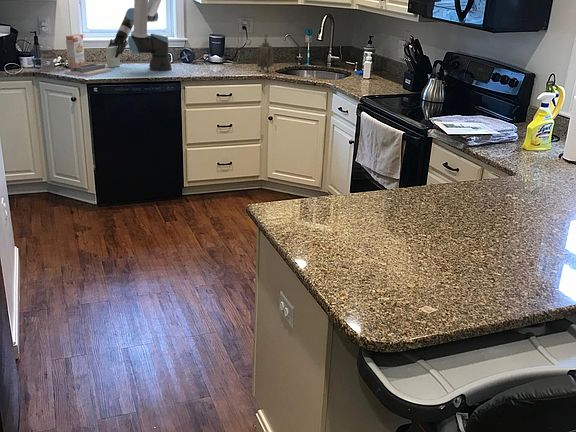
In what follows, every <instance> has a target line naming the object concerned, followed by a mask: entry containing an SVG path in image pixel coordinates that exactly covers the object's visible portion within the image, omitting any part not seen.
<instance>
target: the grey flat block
mask: <svg viewBox="0 0 576 432" xmlns="http://www.w3.org/2000/svg"><path fill="white" fill-rule="evenodd" d="M108 72H112V68H110V67H107V66H106V63H102V64H99V63H98V64H97V63H96V62H92V63H87V64H86V63H85V65H81V66H76V67H71V68H69V70H64V74H70V75H77V76H85V77H90V76H91V77H92V76H95V75H99V74H104V73H108Z"/></svg>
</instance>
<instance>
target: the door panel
mask: <svg viewBox="0 0 576 432" xmlns="http://www.w3.org/2000/svg"><path fill="white" fill-rule="evenodd" d="M117 48H118V46H112V47H108V46H107V47H105V53H106V57H107V60H106V65H107V66H106V68H116V67H120V66H121V60H120V59H121V58H120V55H121V54H119V55H118V57H117V58H116V60H115V62H113V61H112V58H113V56H114V53H115V52H116V51H117ZM116 53H117V52H116Z"/></svg>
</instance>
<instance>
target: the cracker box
mask: <svg viewBox="0 0 576 432" xmlns="http://www.w3.org/2000/svg"><path fill="white" fill-rule="evenodd" d="M65 45H66V55H67V56H66V57H67V67H68V68H69V69H70V68H71V67H76V66H81V65H86V63H85V61H86V60H85V49H84V47H85V46H84V45H85V44H84V34H81V33H79V34H78V33H75V34H70V35H65Z"/></svg>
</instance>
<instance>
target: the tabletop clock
mask: <svg viewBox="0 0 576 432" xmlns="http://www.w3.org/2000/svg"><path fill="white" fill-rule="evenodd" d="M267 40H268V36H267V34H266V35H264V41H263V42H262V44H259V45H258V46H257V56H256V58H257V59H256V66H257V68H260V69H259V70H258V72H259V73H262V71H264V70H265V68H266V72H267V73H269V72H270V70H269V68H270V67H272V66H273V65H274V59H275V58H274V56H275V54H274V53H275V48H274V46H272V45H270V44H269V42H268V41H267Z"/></svg>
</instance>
